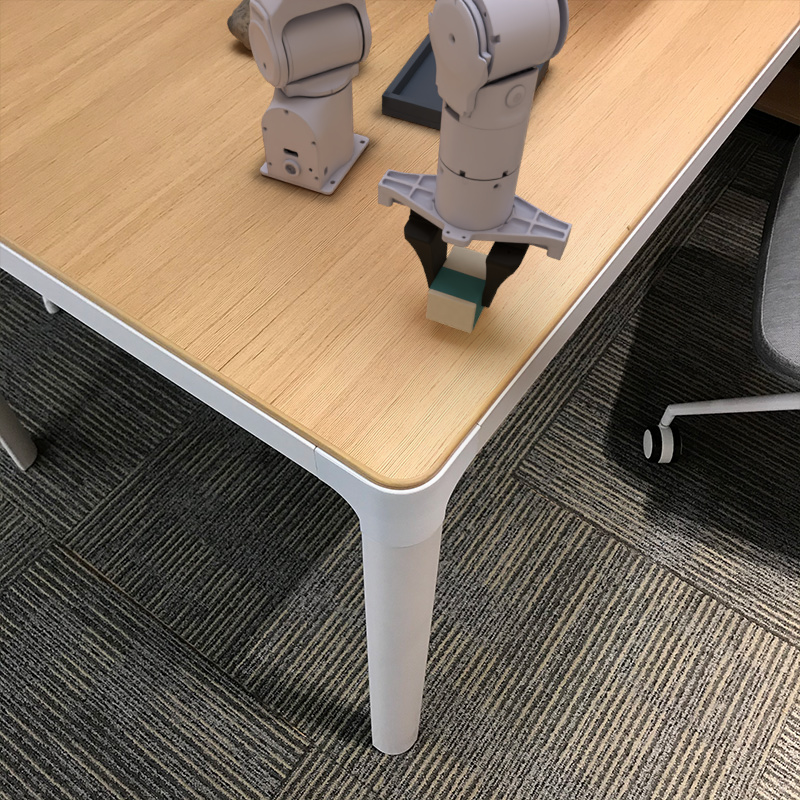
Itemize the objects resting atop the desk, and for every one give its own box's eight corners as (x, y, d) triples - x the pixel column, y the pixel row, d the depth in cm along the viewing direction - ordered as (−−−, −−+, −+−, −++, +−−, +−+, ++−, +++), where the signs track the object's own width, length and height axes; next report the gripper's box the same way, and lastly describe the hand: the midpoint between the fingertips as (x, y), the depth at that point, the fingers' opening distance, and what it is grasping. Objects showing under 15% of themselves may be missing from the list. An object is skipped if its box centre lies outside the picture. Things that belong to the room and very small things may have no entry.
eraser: (495, 285, 66) (500, 258, 63) (471, 334, 63) (475, 308, 60) (450, 270, 67) (453, 243, 64) (424, 318, 64) (427, 291, 61)
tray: (503, 148, 80) (506, 129, 78) (381, 113, 83) (381, 94, 81) (548, 69, 89) (551, 50, 87) (435, 40, 92) (437, 21, 90)
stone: (328, 42, 92) (291, -22, 90) (333, 28, 87) (294, -40, 85) (258, 84, 92) (220, 21, 90) (259, 73, 86) (218, 5, 84)
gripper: (359, 158, 52) (362, 295, 63) (565, 220, 49) (530, 352, 60) (400, 101, 56) (396, 240, 67) (594, 156, 53) (556, 291, 64)
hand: (461, 289), depth 64 cm, fingers closed on eraser, 4 cm apart
